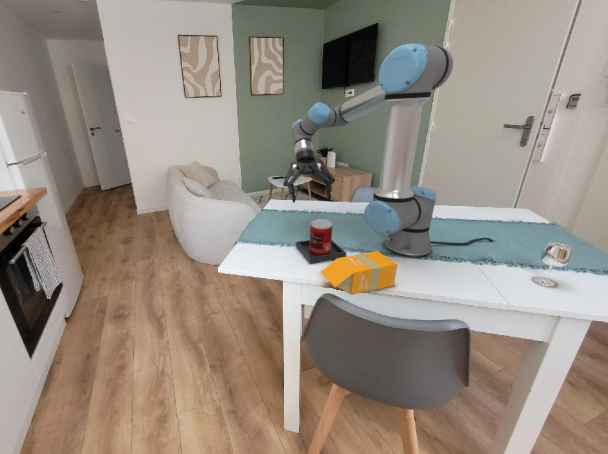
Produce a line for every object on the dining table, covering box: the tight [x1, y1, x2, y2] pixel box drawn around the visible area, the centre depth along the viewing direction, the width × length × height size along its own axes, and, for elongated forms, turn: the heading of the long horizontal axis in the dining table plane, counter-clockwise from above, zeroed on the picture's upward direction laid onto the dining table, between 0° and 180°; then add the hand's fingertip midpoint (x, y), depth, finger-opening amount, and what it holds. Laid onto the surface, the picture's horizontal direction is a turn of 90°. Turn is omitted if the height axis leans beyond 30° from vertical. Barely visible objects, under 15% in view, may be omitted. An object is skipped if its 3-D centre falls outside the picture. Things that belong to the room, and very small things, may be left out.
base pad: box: [295, 239, 347, 265], centre depth 108 cm, size 14×14×2 cm
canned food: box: [309, 218, 333, 255], centre depth 106 cm, size 8×8×11 cm
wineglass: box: [533, 241, 573, 287], centre depth 83 cm, size 6×6×12 cm
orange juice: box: [319, 250, 398, 296], centre depth 87 cm, size 8×9×20 cm
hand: (311, 200), depth 111 cm, fingers open, 13 cm apart
